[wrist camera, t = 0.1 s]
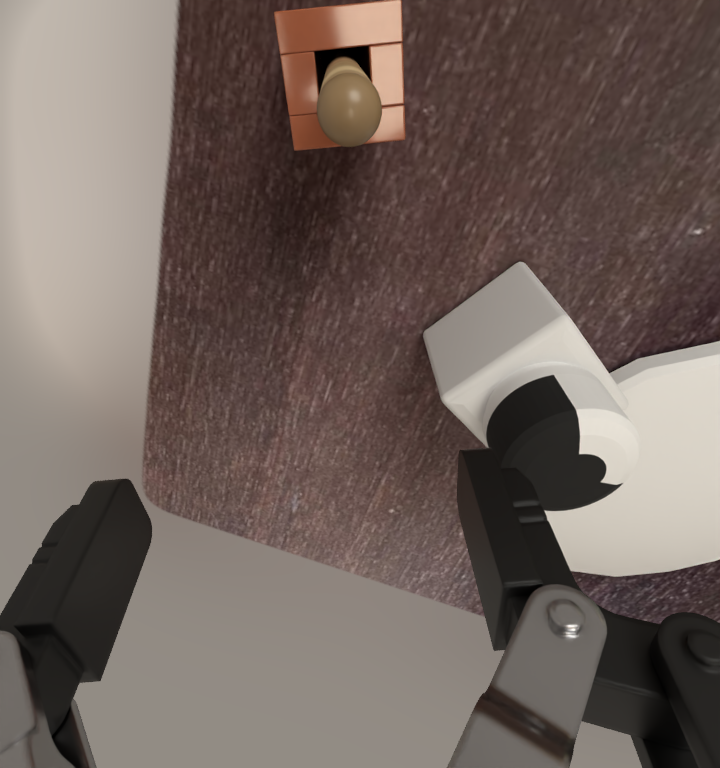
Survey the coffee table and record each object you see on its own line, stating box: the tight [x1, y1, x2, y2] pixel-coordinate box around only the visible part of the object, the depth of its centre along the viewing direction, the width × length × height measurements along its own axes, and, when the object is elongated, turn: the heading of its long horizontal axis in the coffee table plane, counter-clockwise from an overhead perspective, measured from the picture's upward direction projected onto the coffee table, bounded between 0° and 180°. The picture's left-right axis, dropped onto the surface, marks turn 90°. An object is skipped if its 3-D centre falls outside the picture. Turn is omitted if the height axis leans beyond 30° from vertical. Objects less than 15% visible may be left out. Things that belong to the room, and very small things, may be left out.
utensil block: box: [274, 0, 406, 151], centre depth 21 cm, size 4×4×8 cm
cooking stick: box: [317, 51, 382, 147], centre depth 17 cm, size 1×1×17 cm
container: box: [423, 262, 641, 511], centre depth 28 cm, size 8×8×13 cm
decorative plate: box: [545, 341, 720, 577], centre depth 40 cm, size 25×4×25 cm
